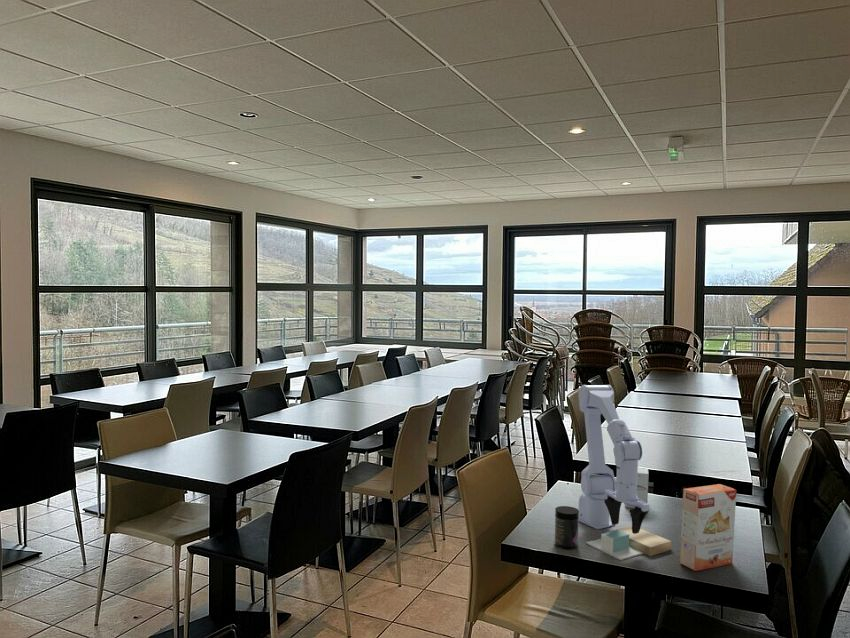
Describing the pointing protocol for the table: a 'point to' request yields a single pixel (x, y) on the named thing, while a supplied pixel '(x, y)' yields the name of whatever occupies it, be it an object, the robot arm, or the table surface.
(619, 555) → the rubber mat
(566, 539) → the supplement container
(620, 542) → the teal block
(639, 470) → the supplement box
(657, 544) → the oak slab
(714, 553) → the cracker box
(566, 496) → the table surface
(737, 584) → the table surface
